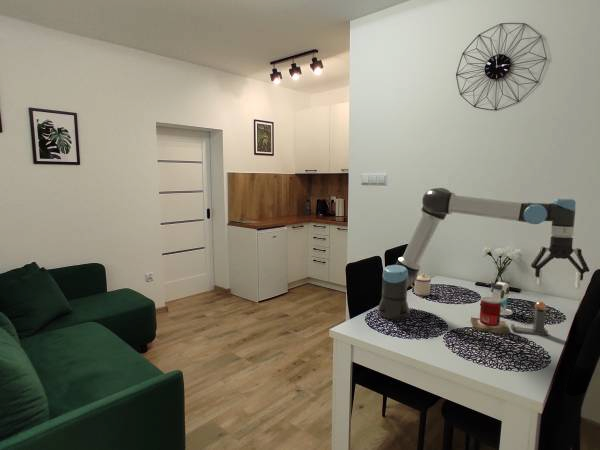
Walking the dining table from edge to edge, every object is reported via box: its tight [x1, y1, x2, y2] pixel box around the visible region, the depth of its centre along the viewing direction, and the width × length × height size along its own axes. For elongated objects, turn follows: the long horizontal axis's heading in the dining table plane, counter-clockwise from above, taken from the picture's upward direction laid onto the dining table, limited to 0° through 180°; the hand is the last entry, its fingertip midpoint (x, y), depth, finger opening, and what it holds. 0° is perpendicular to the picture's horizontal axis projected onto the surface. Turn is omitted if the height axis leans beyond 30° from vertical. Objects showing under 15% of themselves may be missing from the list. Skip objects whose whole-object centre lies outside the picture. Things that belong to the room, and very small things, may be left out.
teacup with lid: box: [410, 273, 432, 296], centre depth 215 cm, size 12×9×12 cm
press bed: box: [470, 316, 511, 335], centre depth 165 cm, size 14×12×2 cm
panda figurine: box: [492, 279, 513, 316], centre depth 185 cm, size 12×11×15 cm
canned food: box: [479, 296, 501, 326], centre depth 165 cm, size 8×8×11 cm
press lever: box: [532, 301, 547, 333], centre depth 158 cm, size 4×4×13 cm
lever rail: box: [510, 323, 549, 337], centre depth 160 cm, size 13×4×2 cm, turn 71°
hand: (557, 286), depth 155 cm, fingers open, 13 cm apart
